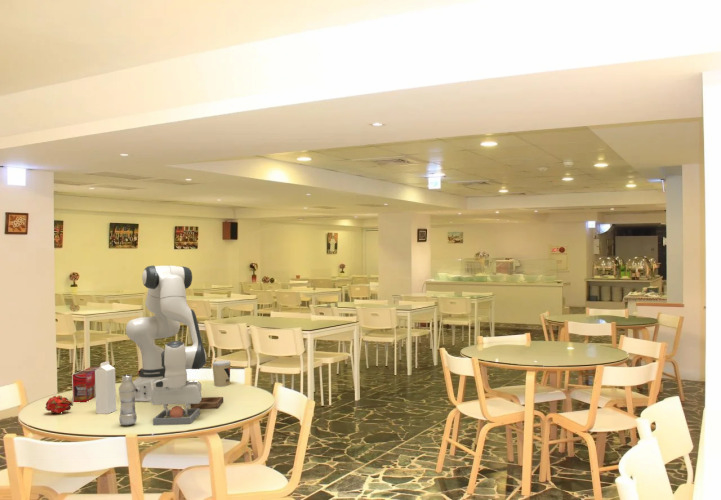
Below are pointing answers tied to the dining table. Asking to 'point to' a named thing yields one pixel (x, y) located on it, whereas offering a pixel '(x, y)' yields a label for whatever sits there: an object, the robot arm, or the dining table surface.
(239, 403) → the dining table surface
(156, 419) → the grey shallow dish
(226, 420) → the dining table surface
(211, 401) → the tray
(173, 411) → the ball
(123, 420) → the plastic bottle
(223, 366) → the coffee cup
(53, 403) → the dragon fruit
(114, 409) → the milk
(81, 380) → the ice cream box
